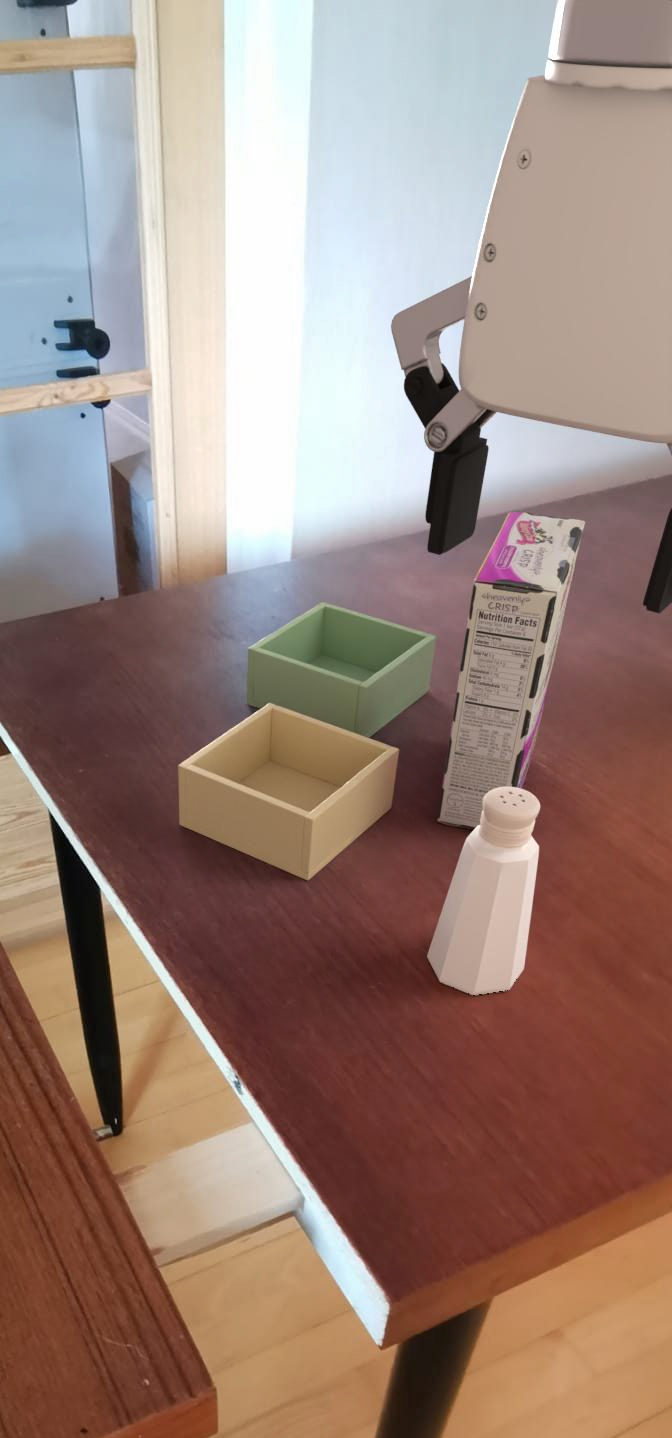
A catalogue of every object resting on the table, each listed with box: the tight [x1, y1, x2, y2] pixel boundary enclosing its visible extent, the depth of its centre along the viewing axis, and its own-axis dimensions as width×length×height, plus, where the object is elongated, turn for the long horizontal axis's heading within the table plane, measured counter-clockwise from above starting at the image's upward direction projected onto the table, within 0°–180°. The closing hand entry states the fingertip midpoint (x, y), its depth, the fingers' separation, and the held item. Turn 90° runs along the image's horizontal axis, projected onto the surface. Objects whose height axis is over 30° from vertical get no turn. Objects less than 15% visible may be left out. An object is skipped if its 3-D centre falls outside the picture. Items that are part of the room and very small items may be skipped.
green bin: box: [246, 601, 437, 738], centre depth 83 cm, size 10×10×4 cm
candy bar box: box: [436, 511, 586, 831], centre depth 69 cm, size 11×5×16 cm, turn 158°
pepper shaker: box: [426, 787, 541, 996], centre depth 58 cm, size 5×5×11 cm
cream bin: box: [177, 703, 400, 881], centre depth 71 cm, size 10×10×4 cm
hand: (552, 571), depth 46 cm, fingers open, 9 cm apart
